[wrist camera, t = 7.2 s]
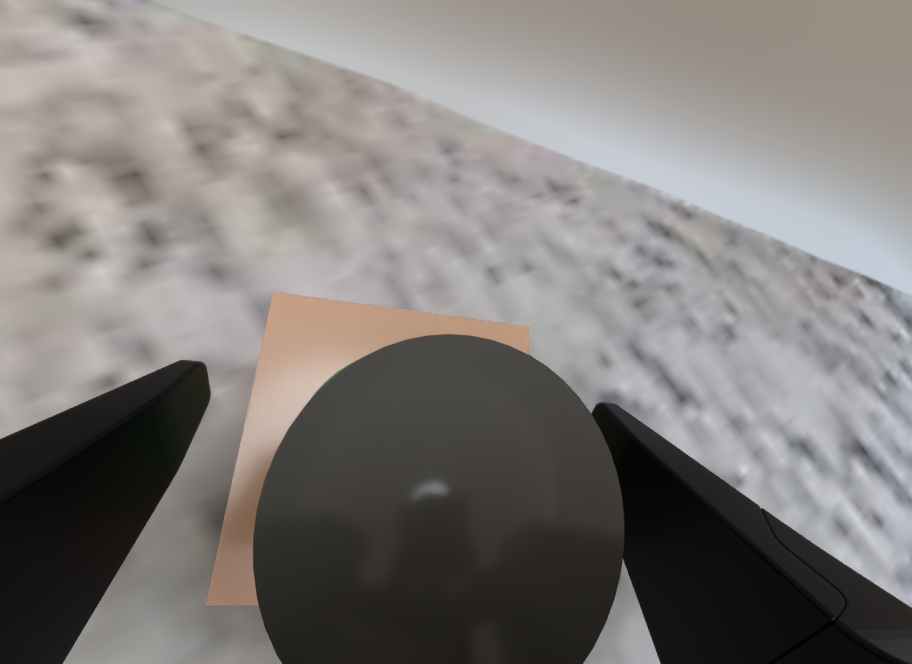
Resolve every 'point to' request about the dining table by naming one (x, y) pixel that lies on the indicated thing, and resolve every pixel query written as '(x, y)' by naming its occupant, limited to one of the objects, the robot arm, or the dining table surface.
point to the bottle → (439, 514)
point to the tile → (292, 386)
